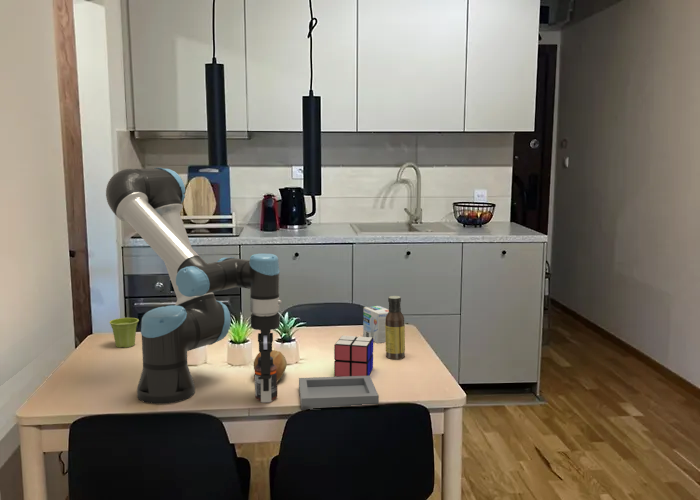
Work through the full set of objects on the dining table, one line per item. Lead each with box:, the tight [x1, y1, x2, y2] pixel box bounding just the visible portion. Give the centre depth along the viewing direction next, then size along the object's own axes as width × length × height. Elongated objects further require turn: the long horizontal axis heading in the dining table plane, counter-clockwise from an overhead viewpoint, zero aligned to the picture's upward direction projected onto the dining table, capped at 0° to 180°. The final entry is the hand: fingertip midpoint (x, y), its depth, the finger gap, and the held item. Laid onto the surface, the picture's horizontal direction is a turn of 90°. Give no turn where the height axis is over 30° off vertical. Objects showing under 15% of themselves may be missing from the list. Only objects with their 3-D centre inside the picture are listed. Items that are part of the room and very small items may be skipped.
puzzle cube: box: [333, 335, 374, 377], centre depth 201 cm, size 10×10×10 cm
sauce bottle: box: [385, 295, 406, 360], centre depth 216 cm, size 6×6×20 cm
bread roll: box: [253, 349, 288, 382], centre depth 196 cm, size 10×15×8 cm, turn 6°
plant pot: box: [108, 317, 140, 348], centre depth 228 cm, size 9×9×9 cm
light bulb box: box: [362, 305, 389, 344], centre depth 238 cm, size 11×7×11 cm, turn 28°
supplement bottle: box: [254, 356, 278, 402], centre depth 179 cm, size 6×6×11 cm
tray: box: [298, 375, 380, 411], centre depth 181 cm, size 20×16×3 cm
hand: (266, 397), depth 180 cm, fingers closed on supplement bottle, 6 cm apart
